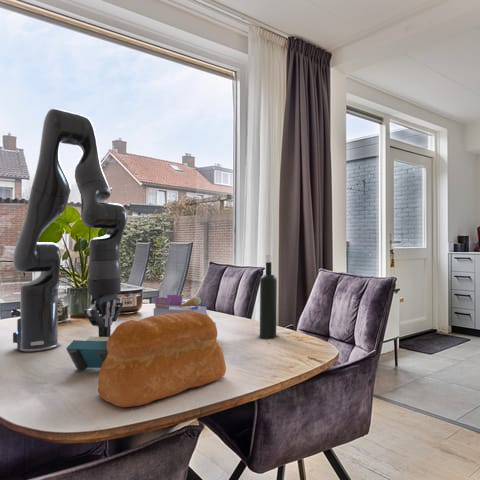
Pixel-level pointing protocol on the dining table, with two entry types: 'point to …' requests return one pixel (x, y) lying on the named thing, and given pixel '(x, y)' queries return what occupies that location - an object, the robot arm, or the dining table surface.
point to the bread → (160, 358)
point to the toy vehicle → (178, 305)
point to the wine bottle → (268, 301)
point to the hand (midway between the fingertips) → (104, 339)
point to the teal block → (88, 352)
